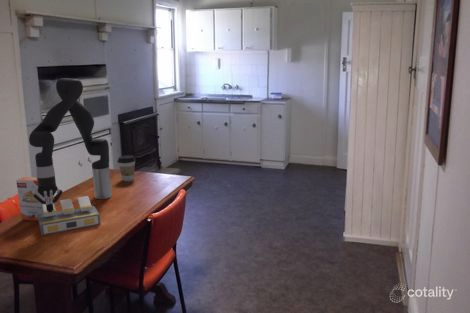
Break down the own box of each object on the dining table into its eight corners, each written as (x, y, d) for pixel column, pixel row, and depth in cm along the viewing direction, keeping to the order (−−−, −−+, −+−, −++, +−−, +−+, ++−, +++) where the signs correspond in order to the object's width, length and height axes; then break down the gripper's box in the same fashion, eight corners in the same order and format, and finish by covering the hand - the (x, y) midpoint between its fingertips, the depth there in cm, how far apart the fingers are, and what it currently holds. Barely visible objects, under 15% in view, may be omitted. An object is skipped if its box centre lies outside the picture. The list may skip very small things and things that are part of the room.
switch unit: (39, 225, 217) (37, 214, 216) (94, 215, 229) (93, 204, 227) (41, 235, 205) (40, 224, 204) (100, 224, 216) (99, 213, 215)
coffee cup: (116, 182, 286) (113, 158, 282) (123, 177, 297) (121, 154, 293) (133, 182, 284) (131, 159, 280) (139, 177, 295) (138, 154, 291)
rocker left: (42, 207, 216) (42, 203, 215) (53, 205, 218) (53, 202, 217) (44, 217, 209) (44, 213, 208) (56, 215, 211) (56, 211, 210)
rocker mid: (60, 203, 219) (60, 200, 218) (71, 201, 222) (70, 198, 221) (63, 214, 213) (63, 211, 212) (74, 213, 215) (74, 209, 214)
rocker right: (77, 200, 223) (77, 197, 222) (88, 199, 225) (87, 195, 224) (81, 211, 216) (80, 208, 215) (91, 210, 219) (91, 206, 217)
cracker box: (21, 220, 224) (15, 179, 219) (28, 216, 229) (23, 176, 225) (46, 222, 221) (41, 180, 216) (53, 217, 227) (48, 177, 222)
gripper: (60, 171, 212) (64, 207, 215) (29, 175, 206) (34, 212, 209) (62, 174, 205) (66, 211, 209) (30, 179, 199) (35, 216, 203)
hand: (50, 211), depth 209 cm, fingers closed
